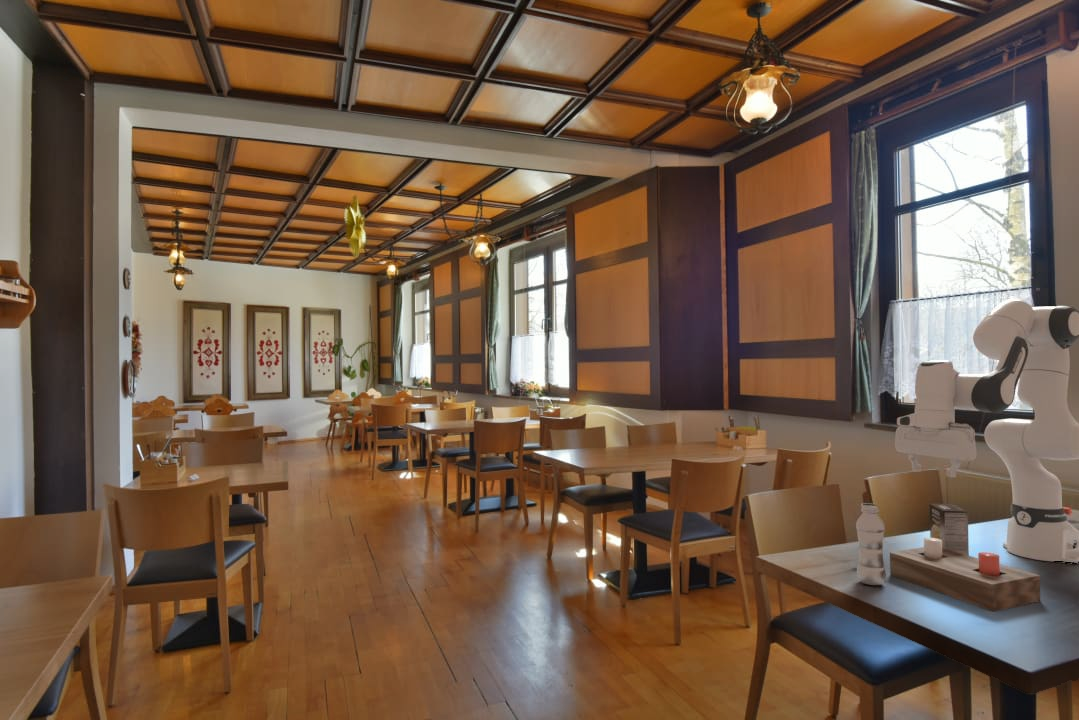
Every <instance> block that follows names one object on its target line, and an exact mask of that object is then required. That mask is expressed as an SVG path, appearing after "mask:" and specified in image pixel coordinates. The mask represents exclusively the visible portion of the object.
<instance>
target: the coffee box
mask: <svg viewBox="0 0 1079 720" xmlns="http://www.w3.org/2000/svg"><path fill="white" fill-rule="evenodd" d="M929 529H930V530H929V532H930V533H929V535H930V537H929V538H937V539H940V540H942V548H944V549H947V550H951V551H954V552H958V553H961V554H965V555H969V554H970V553H969V552H970V550H969V546H970V545H969V512H968V510H966V509H964V508H962V507H960V506H958V505H956V504H954V503H929ZM969 556H970V555H969Z"/></svg>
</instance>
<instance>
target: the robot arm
mask: <svg viewBox="0 0 1079 720" xmlns="http://www.w3.org/2000/svg"><path fill="white" fill-rule="evenodd" d="M1078 339H1079V310H1077V308H1075V307H1073V306H1067V305H1057V306H1033V307H1032V305H1031V304H1029V303H1028V302H1026V301H1024V300H1021V299H1015V298H1014V299H1007V300H1005V301H1002V302H999V304H998V305H996V306H995V307H994V308H993V309H991V311H989V312H988V314H986V315H985V317H984V318H983V319H982V320H981V321H980V323H979V324H978V325H977V327H976V328H975V330H974V332H973V336H972V340H973V345H974V346H975V348H976V349H977V350H978V352H979V353H981V355H984V356H985V357H987V358H989V359H992V360H994V361H998V363H997V365H996V368H995V369H994V370H993V371H990V372H986V373H960V372H959V371H957V370H956V369H954V364H953V361H951V360H948V359H933V360H932V359H931V360H925V361H922V362H920V363H919V364H918V366H917V369H916V374H915V382H914V395H915V398H916V402H915V406H914V413H910V414H907V415H904V416H899V417H897V418H896V424H897V428H896V430H895V435H894V436H895V437H894V448H895V449H896V452H898V453H903V454H907V458H908V460H909V463H910V464H911V471H912V472H918V473H919V472H920V473H921V472H922V468H923V465H922V464H920V463H919V461H918V458H919V456H925V457H926V456H927V457H934V458H941V459H947V460H949V464H951V466H950V467H949V469H945V477H949V478H956V477H957V471H958V470H959V468H960V467H961V465H962V462H974V461H975V460H976V458H977V457H978V456H977V444H976V439H975V437H976V432H975V429H974V428H973V427H972V426H971V425H969V424H968V423H960V422H959V423H958V422H955V418H956V417H955V415H956V413H955V411H956V410H961V411H975V412H984V413H992V414H1001V413H1003V412H1004V411H1005V410H1007V409H1008V408H1009V407H1011V405H1012V404H1013V402H1014V400H1015V395H1016V394H1017V398H1018V400H1020V402H1021V403H1022V404H1024V405H1025V406H1027V407H1029V408H1031V409H1032V410H1033V413H1034V418H1033V419H1027V418H1011V417H1010V418H1002V419H994V420H991V421H990V422H989V423H988V424H987V426H986V427H985V429H984V434H983V435H984V436H983V437H984V440H985V443H986V445H987V447H988V448H989V449H991V450H992V451H994V453H996V454H997V455H998V456H999V458H1001V460H1002V462H1003V463H1004V465H1005V467H1006V468H1007V470H1008V474H1009V476H1010V480H1011V481H1010V482H1011V490H1012V502H1011V503H1010V515H1011V516H1012V517H1011V518H1010V519H1009V520H1008V521H1007V531H1006V532H1007V533H1006V541H1005V542H1003V543H1002V546H1003V547H1004V548H1005V549H1006V550H1007V552H1008V553H1010V554H1013V555H1015V556H1019V557H1023V558H1026V559H1031V560H1037V561H1045V562H1054V561H1067V562H1078V561H1079V530H1078V529H1077V528H1076V527H1074V526H1073V525H1072V524H1071V523H1070V522H1069V521H1068V518H1067V516H1071V515H1072V513H1073V510H1072V508H1071V507H1065V506H1063V503H1062V502H1063V501H1062V500H1063V499H1062V497H1063V496H1062V493H1063V492H1062V491H1063V490H1062V482H1061V480H1060V479H1059V477H1058V476H1057V475H1055V474H1054V473H1052V472H1050V471H1048V470H1047V469H1046V468H1045V467H1044V466H1043V464H1042V463H1041V461H1040V459H1045V460H1051V461H1052V460H1054V461H1076V460H1079V422H1078V421H1077V420H1076V419H1075V418H1074V417H1073V415H1072V413H1071V412H1070V410H1069V405H1068V400H1067V399H1068V388H1069V387H1068V386H1069V380H1070V377H1069V376H1070V368H1071V367H1070V366H1071V359H1070V356H1071V355H1070V350H1069V348H1070V347H1071V346H1073V345H1072V344H1073V343H1074V342H1077V340H1078ZM1017 385H1018V387H1017ZM1016 388H1017V393H1016Z"/></svg>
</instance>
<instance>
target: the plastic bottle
mask: <svg viewBox="0 0 1079 720" xmlns="http://www.w3.org/2000/svg"><path fill="white" fill-rule="evenodd" d="M878 507H879V506H878V504H876V503H871V502H870V503H867V502H866V503H861V509H860V510H861V512H862V513H861V515H860V516H859V517H858V519H857V520H856V523H855V526H856V527H855V528H856V533H857V540H858V562H857V565H856V576H857V579H858V581H859V582H861V583H862V584H864V585H870V586H881V585H884V583H885V581H886V578H887V574H886V573H887V572H886V568H885V566H884V565H885V564H884V563H885V561H884V555H883V554H884V553H883V550H884V549H883V547H884V546H883V545H884V537H885V524H884V522H883V520H882V518H880V516H879V515H878V514H879V508H878Z"/></svg>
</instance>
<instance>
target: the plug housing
mask: <svg viewBox="0 0 1079 720" xmlns="http://www.w3.org/2000/svg"><path fill="white" fill-rule="evenodd" d="M889 574H890V576H891V577H894V578H897V579H899V580H902V581H906V582H908V583H910V584H915V585H918V586H919V587H923V588H925V589H929V590H931V591H934V592H937V593H940V594H942V595H945V596H948V597H951V598H952V599H953V598H955V599H957V600H959V601H963V602H966V603H968V604H970V605H974V606H977V607H978V608H979V607H980V608H981V609H986V610H988V611H991V612H997V611H998V612H999V611H1003V610H1007V609H1011V608H1016V607H1020V606H1021V607H1022V606H1026V605H1029V603H1031V604H1034V602H1035V603H1039V602H1038V601H1040V602H1041V575H1039V574H1035V573H1032V572H1029V571H1026V570H1022V569H1018V568H1014V567H1011V566H1008V565H1004V564H1001V563H1000V575H998V576H990V575H987V574H983V573H980V572H979V559H978V557H975V556H971V555H965V554H961V553H958V552H954V551H951V550H947V549H944V548H942V558H939V559H933V558H930V557H927V556H924V546H923V547H915V548H909V549H903V550H902V549H901V550H896V551H890V552H889ZM1025 604H1026V605H1025Z"/></svg>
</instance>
